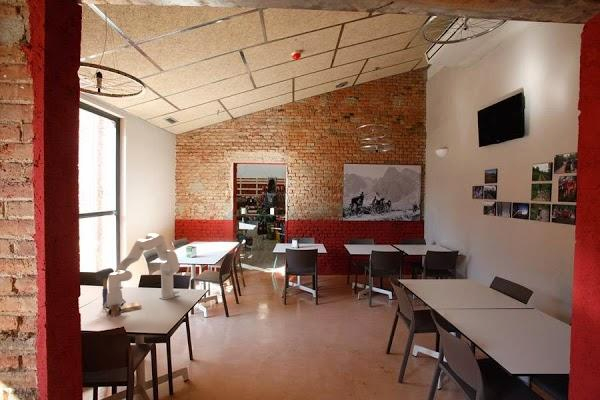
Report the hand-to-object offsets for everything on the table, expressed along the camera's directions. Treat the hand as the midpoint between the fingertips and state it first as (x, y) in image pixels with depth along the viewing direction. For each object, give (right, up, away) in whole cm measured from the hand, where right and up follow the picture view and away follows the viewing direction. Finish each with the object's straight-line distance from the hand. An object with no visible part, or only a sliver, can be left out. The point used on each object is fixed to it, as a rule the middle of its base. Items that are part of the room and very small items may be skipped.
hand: (115, 313), depth 239 cm
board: (+1, -1, +11) cm, 11 cm away
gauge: (-3, -1, +4) cm, 5 cm away
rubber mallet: (-18, -1, +17) cm, 24 cm away
